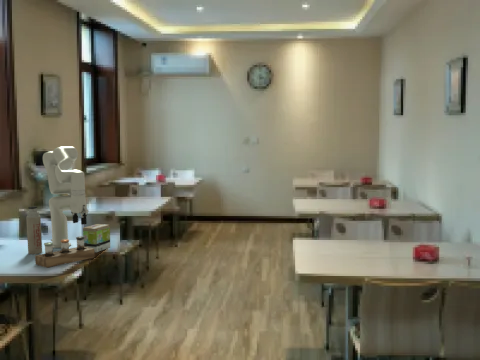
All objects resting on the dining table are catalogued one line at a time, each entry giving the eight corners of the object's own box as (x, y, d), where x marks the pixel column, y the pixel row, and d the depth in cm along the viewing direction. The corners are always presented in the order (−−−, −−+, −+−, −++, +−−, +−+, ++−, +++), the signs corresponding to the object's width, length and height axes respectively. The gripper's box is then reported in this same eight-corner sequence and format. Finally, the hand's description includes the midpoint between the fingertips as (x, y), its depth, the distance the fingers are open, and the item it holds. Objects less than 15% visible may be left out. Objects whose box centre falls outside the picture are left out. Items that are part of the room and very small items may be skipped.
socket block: (35, 264, 310) (35, 255, 310) (82, 254, 333) (82, 246, 332) (47, 267, 302) (46, 258, 302) (94, 257, 325) (94, 248, 324)
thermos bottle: (44, 252, 338) (41, 206, 336) (30, 255, 333) (28, 208, 331) (39, 250, 345) (37, 205, 342) (26, 252, 339) (23, 206, 337)
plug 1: (43, 256, 309) (42, 243, 308) (50, 254, 313) (50, 241, 312) (47, 257, 306) (46, 244, 305) (55, 256, 310) (54, 242, 309)
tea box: (97, 252, 336) (96, 228, 335) (83, 251, 340) (82, 227, 338) (111, 247, 350) (110, 224, 349) (97, 246, 354) (96, 223, 352)
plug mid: (59, 253, 317) (58, 240, 316) (66, 251, 320) (66, 238, 319) (64, 254, 314) (63, 241, 313) (71, 252, 317) (70, 239, 316)
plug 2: (75, 249, 324) (74, 237, 324) (81, 248, 328) (81, 236, 327) (79, 251, 321) (79, 238, 321) (86, 249, 325) (86, 237, 324)
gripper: (64, 192, 324) (65, 222, 326) (81, 194, 313) (82, 226, 314) (75, 191, 330) (76, 221, 331) (92, 193, 318) (94, 224, 320)
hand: (79, 223), depth 323 cm, fingers open, 7 cm apart
